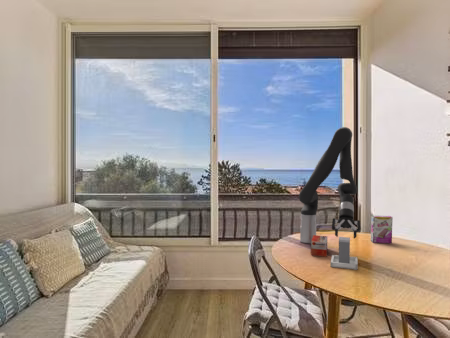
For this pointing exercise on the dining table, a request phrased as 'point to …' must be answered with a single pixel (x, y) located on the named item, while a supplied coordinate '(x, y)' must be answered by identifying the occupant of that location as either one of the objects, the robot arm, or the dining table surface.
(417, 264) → the dining table surface
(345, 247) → the tall grey carton
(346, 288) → the dining table surface
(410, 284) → the dining table surface
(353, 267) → the tray
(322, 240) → the medicine box
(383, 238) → the candy bar box
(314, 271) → the dining table surface
